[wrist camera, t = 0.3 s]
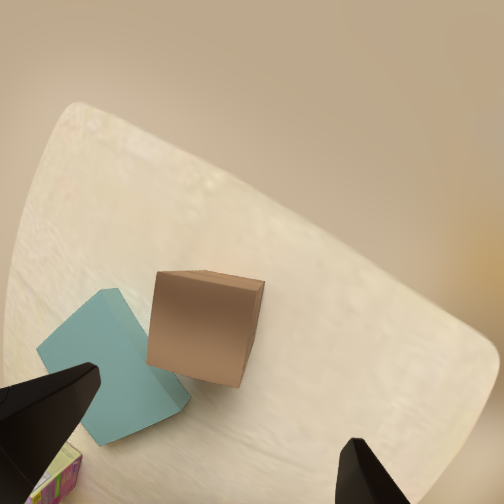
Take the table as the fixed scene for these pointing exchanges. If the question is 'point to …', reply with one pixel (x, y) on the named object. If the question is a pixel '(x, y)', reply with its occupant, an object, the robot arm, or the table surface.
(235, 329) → the walnut block
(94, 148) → the table surface
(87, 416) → the teal plinth
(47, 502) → the box
